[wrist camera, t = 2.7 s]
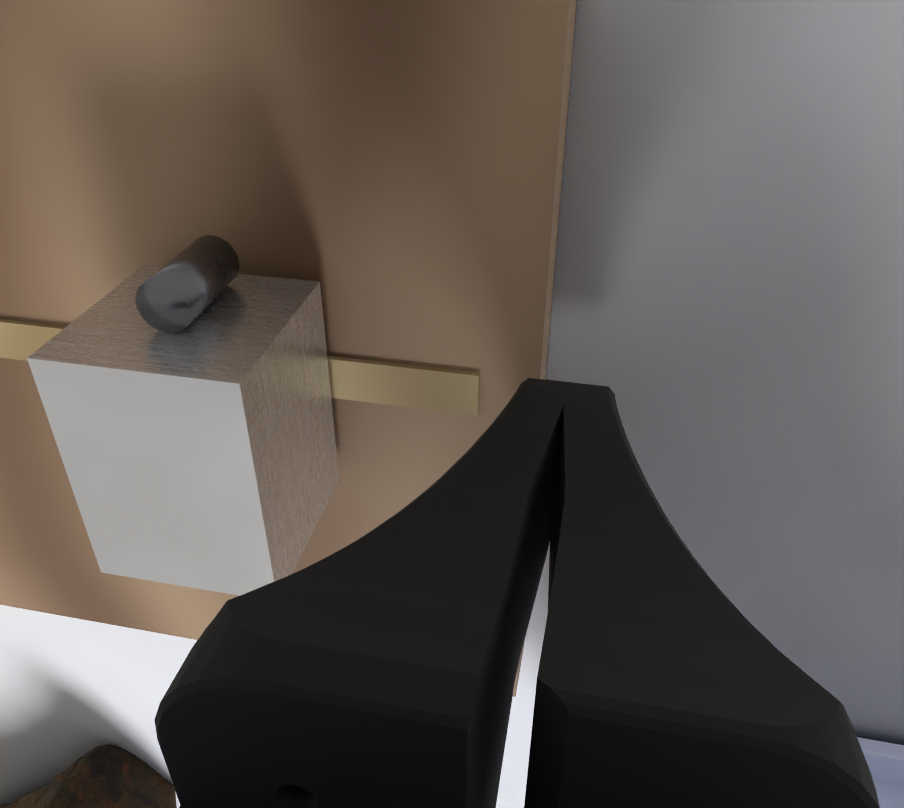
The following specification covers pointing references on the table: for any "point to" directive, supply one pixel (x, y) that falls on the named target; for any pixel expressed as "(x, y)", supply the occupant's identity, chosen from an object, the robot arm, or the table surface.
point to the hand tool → (103, 784)
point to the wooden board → (281, 229)
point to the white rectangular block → (195, 421)
